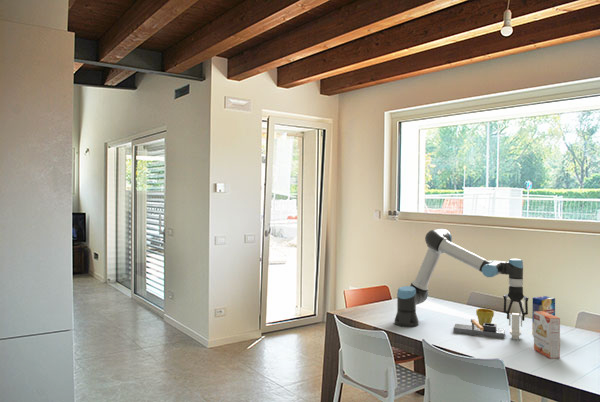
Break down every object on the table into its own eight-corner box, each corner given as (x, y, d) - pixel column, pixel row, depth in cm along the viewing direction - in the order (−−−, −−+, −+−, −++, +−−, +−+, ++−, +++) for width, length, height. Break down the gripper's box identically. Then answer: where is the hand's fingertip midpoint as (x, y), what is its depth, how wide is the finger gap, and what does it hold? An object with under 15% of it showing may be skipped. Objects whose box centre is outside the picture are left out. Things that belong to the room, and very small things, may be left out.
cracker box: (533, 349, 251) (533, 311, 251) (543, 349, 252) (544, 310, 251) (549, 358, 237) (549, 317, 237) (560, 358, 238) (560, 317, 237)
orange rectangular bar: (470, 328, 280) (470, 319, 280) (474, 328, 280) (474, 319, 280) (479, 337, 262) (479, 327, 262) (484, 337, 262) (484, 327, 262)
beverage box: (555, 335, 278) (555, 298, 278) (542, 337, 273) (542, 300, 273) (544, 332, 284) (544, 296, 284) (532, 334, 279) (532, 297, 279)
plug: (509, 339, 269) (509, 315, 269) (509, 335, 276) (510, 312, 276) (521, 341, 266) (521, 316, 266) (521, 337, 274) (521, 313, 274)
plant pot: (495, 328, 292) (495, 312, 292) (477, 327, 294) (477, 311, 294) (491, 323, 302) (492, 308, 302) (475, 323, 304) (475, 308, 304)
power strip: (453, 332, 283) (453, 322, 283) (455, 328, 292) (455, 318, 292) (503, 338, 271) (504, 328, 271) (504, 334, 280) (504, 324, 280)
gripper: (533, 285, 272) (533, 325, 272) (498, 283, 280) (498, 322, 280) (533, 288, 265) (533, 329, 265) (498, 285, 273) (498, 325, 273)
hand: (515, 325), depth 272 cm, fingers open, 5 cm apart
